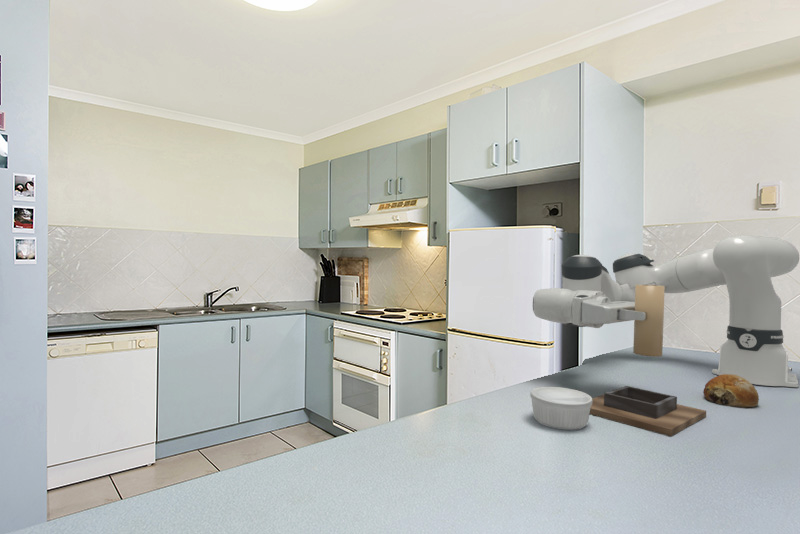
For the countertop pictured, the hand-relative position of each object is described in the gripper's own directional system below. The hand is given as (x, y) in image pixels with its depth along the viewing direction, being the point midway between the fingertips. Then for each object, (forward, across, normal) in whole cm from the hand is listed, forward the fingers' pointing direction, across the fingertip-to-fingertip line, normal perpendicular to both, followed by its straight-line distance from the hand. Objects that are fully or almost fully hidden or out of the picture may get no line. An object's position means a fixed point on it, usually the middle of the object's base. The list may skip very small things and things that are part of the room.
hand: (653, 315), depth 99 cm
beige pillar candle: (-1, 0, -8) cm, 9 cm away
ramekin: (-5, +27, -19) cm, 34 cm away
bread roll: (+10, -17, -20) cm, 28 cm away
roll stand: (+2, +9, -19) cm, 21 cm away
